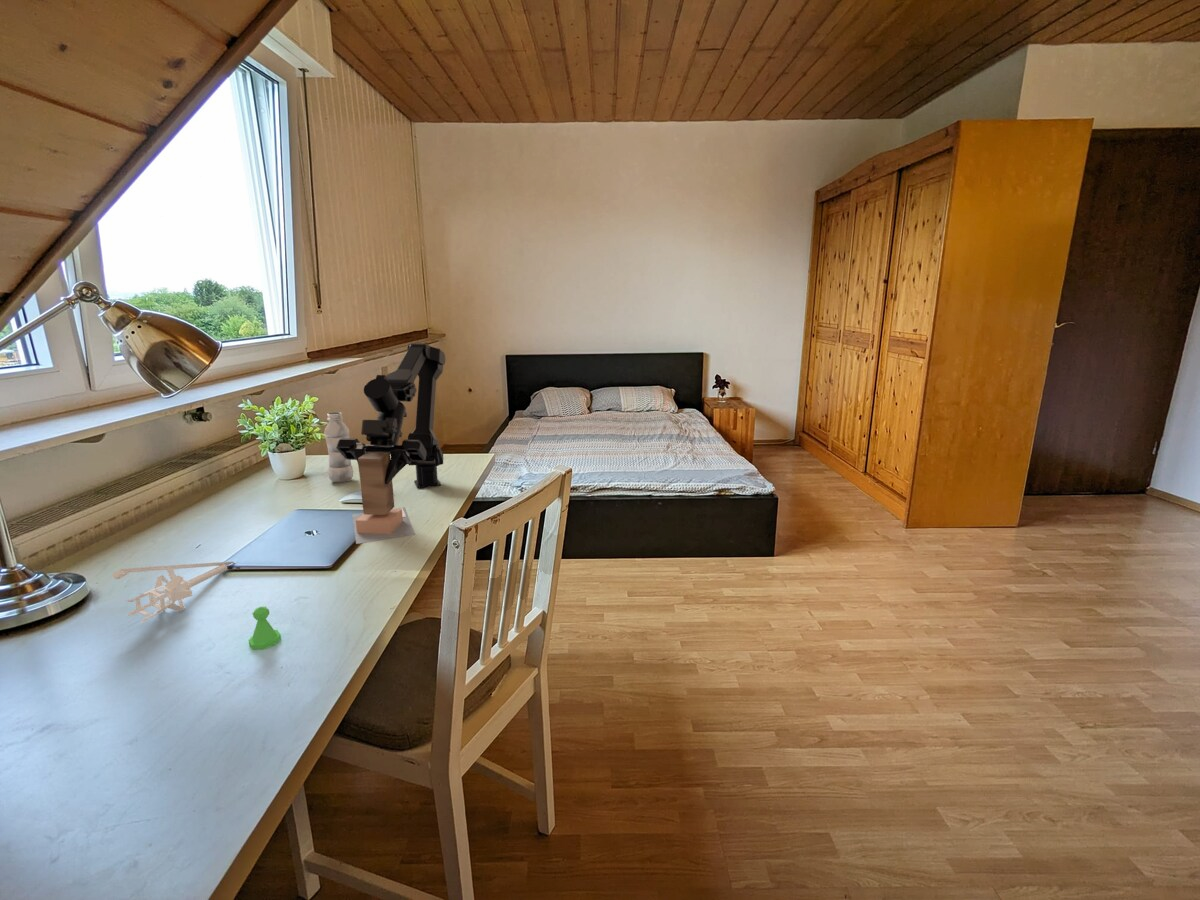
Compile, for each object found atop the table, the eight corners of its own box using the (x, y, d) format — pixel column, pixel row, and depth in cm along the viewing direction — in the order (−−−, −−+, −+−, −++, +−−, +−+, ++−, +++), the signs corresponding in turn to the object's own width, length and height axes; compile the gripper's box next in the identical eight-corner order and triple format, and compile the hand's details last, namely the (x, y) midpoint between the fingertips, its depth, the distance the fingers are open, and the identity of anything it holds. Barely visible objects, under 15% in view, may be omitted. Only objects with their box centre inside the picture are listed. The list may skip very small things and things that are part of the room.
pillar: (373, 506, 128) (367, 452, 125) (394, 506, 128) (389, 452, 125) (363, 514, 124) (357, 458, 120) (385, 514, 123) (380, 458, 120)
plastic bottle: (337, 477, 164) (330, 410, 158) (359, 478, 163) (352, 411, 157) (324, 484, 157) (316, 415, 152) (346, 485, 156) (338, 416, 151)
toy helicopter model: (237, 611, 109) (117, 632, 85) (221, 570, 111) (98, 579, 86) (265, 595, 109) (152, 612, 85) (248, 554, 111) (133, 559, 86)
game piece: (252, 636, 87) (246, 602, 86) (283, 631, 89) (278, 597, 87) (246, 652, 83) (240, 616, 82) (278, 646, 85) (273, 611, 83)
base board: (352, 518, 134) (352, 513, 133) (404, 511, 139) (404, 506, 138) (356, 548, 118) (356, 542, 118) (415, 538, 123) (415, 533, 123)
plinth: (371, 519, 130) (370, 508, 130) (402, 520, 130) (401, 508, 130) (356, 532, 123) (355, 520, 122) (390, 533, 123) (389, 521, 122)
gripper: (335, 403, 123) (315, 465, 116) (418, 405, 123) (404, 467, 116) (354, 429, 133) (337, 488, 126) (432, 431, 133) (420, 490, 125)
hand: (374, 483), depth 123 cm, fingers closed on pillar, 5 cm apart
